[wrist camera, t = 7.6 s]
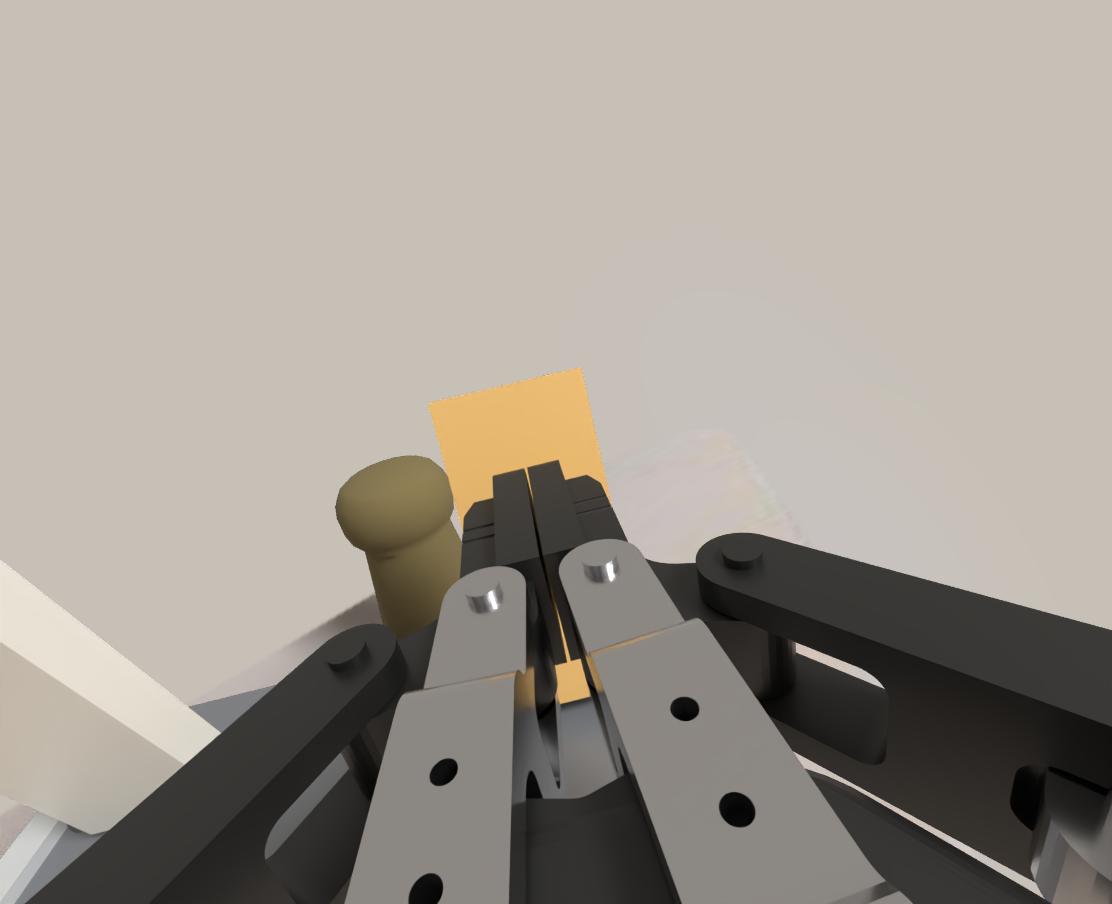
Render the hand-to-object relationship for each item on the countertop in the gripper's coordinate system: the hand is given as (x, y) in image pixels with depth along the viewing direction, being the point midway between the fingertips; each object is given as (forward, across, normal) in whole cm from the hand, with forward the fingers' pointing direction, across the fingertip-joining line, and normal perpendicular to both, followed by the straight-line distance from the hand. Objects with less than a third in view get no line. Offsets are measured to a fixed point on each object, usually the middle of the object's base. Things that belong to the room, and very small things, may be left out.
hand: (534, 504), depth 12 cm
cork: (+12, +6, +14) cm, 20 cm away
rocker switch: (+1, +12, +7) cm, 14 cm away
